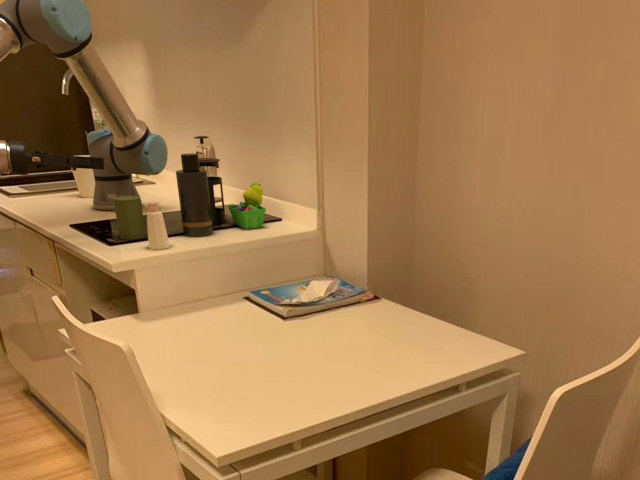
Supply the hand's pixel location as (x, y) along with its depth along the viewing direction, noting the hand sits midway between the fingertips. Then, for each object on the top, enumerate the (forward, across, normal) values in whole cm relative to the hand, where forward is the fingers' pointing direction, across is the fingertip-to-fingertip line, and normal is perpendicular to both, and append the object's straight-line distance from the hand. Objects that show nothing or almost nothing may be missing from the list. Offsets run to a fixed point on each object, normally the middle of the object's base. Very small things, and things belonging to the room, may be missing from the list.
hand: (100, 163), depth 178 cm
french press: (+31, -10, -14) cm, 35 cm away
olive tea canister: (+7, +1, -18) cm, 19 cm away
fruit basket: (+40, +1, -14) cm, 42 cm away
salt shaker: (+11, +16, -19) cm, 27 cm away
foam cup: (+3, -77, -11) cm, 78 cm away
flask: (+24, +5, -16) cm, 29 cm away
